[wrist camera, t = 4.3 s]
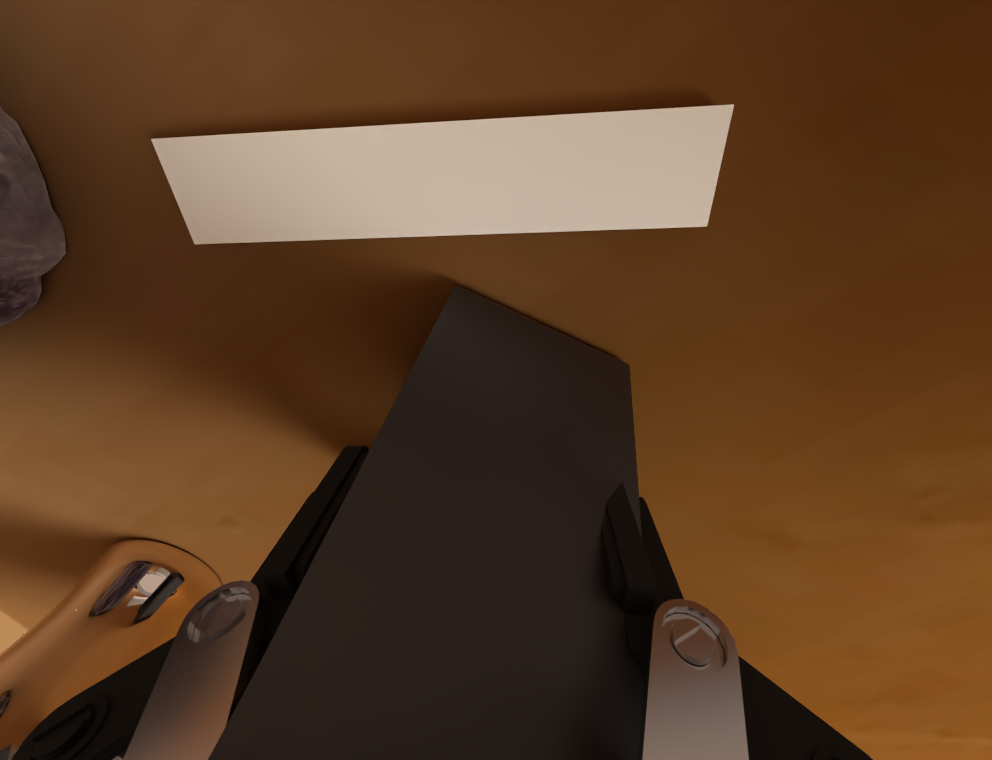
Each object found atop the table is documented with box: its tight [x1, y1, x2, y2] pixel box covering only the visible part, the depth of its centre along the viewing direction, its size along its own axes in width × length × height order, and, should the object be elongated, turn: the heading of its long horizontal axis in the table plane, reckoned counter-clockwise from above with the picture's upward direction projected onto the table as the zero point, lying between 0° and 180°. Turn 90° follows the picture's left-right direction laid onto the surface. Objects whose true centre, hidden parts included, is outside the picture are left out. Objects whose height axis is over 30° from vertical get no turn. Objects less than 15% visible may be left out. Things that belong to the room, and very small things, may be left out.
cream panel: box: [151, 104, 734, 244], centre depth 9 cm, size 14×2×1 cm, turn 92°
